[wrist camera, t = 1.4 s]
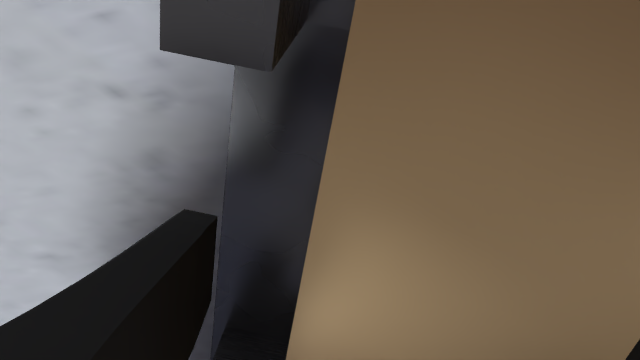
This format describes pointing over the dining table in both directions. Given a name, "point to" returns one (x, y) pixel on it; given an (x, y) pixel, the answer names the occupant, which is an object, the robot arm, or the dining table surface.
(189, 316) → the robot arm
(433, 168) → the oak rail
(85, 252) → the dining table surface
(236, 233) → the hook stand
